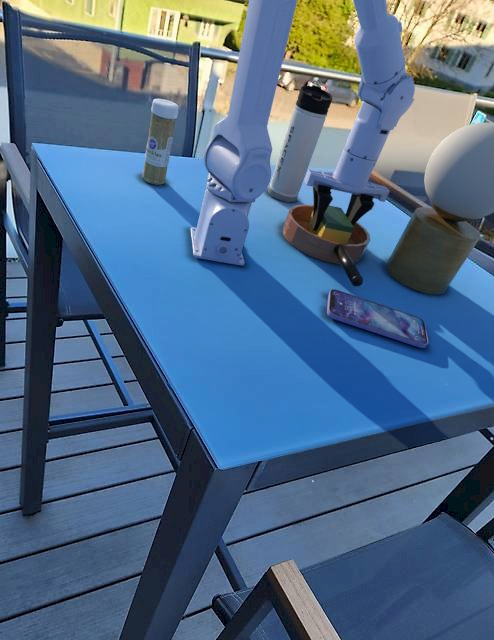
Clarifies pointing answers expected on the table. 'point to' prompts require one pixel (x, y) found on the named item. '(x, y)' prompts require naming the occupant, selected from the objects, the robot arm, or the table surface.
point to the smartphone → (377, 318)
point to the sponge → (333, 226)
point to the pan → (318, 246)
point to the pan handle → (348, 265)
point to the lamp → (447, 211)
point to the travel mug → (299, 142)
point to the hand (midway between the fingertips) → (328, 231)
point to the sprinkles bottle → (159, 141)
